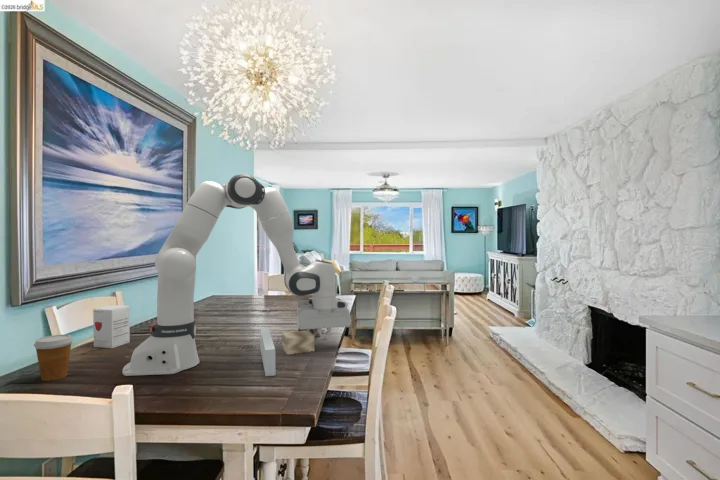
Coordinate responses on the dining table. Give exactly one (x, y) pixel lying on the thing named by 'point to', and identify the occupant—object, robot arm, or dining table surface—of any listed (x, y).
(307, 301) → the coffee box
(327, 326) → the robot arm
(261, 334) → the board
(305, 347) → the maple block
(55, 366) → the disposable coffee cup
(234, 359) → the dining table surface
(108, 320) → the supplement box
